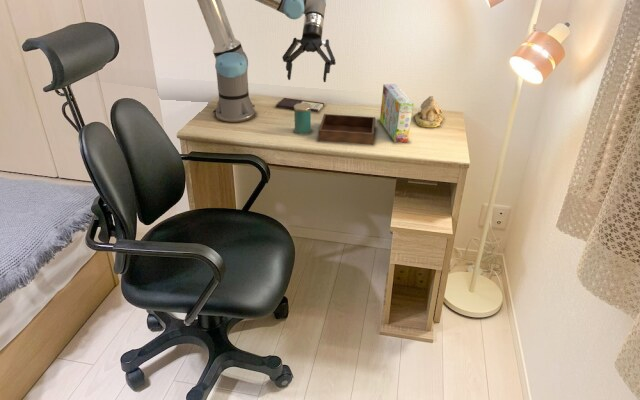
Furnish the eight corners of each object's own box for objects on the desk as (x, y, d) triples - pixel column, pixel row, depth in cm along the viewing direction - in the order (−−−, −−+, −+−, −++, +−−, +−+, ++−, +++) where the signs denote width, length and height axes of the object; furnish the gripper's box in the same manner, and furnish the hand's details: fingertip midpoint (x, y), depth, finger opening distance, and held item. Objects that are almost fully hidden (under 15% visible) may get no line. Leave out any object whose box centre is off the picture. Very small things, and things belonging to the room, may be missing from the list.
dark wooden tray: (318, 141, 173) (318, 130, 170) (323, 124, 186) (324, 113, 183) (372, 145, 171) (373, 134, 168) (374, 127, 184) (375, 117, 181)
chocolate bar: (284, 97, 207) (323, 102, 202) (284, 99, 207) (323, 105, 203) (276, 104, 199) (317, 110, 195) (276, 107, 200) (317, 112, 195)
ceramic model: (414, 113, 197) (417, 89, 191) (442, 115, 195) (445, 91, 190) (414, 127, 185) (418, 102, 179) (444, 129, 183) (448, 104, 178)
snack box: (409, 142, 173) (414, 102, 165) (394, 143, 172) (398, 103, 164) (392, 119, 191) (396, 82, 183) (378, 120, 190) (381, 83, 182)
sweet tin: (292, 134, 178) (292, 108, 172) (295, 127, 183) (295, 102, 178) (309, 135, 177) (309, 109, 172) (312, 128, 182) (312, 103, 177)
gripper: (279, 21, 182) (272, 72, 178) (344, 24, 180) (339, 76, 175) (282, 32, 190) (275, 81, 185) (345, 36, 187) (339, 85, 182)
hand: (306, 79), depth 180 cm, fingers open, 13 cm apart
